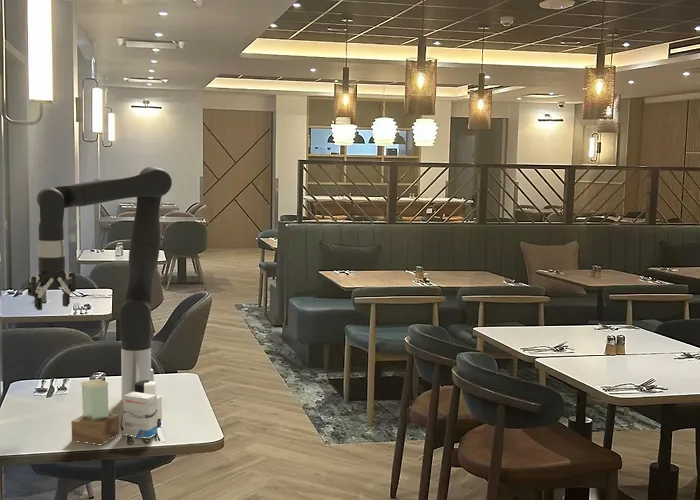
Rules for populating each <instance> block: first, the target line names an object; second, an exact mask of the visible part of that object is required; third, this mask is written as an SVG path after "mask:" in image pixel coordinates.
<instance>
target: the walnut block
mask: <svg viewBox="0 0 700 500" xmlns="http://www.w3.org/2000/svg"><path fill="white" fill-rule="evenodd" d="M119 416H120V415H119V414H116V413H115V414H114V413H109V417H108V418H105V419H101V420H97V421H94V422H92V421H90V420H87V419H85V418H83V414H82V415H81V416H79V417H77V418H74V419H73V420H71V442H73V441H79V442H78V443H80V442H88V443H95V444H102V443H104V442H105V441H107V440H109V439H110V438H112V437H114V436H115V437H117V436H118V435H117V434H119V433H120V431H119V430H120V427H119V423H120V422H119V421H120V419H119ZM116 435H117V436H116ZM119 435H120V434H119ZM115 437H114V438H115ZM112 439H113V438H112ZM110 440H111V439H110ZM110 440H109V441H110ZM107 442H108V441H107ZM105 443H106V442H105ZM105 443H104V444H105ZM102 445H103V444H102Z"/></svg>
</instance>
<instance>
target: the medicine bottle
mask: <svg viewBox="0 0 700 500" xmlns="http://www.w3.org/2000/svg"><path fill="white" fill-rule="evenodd" d="M156 386H157V383H156V382H155V381H154V382H153V381H150V380H142V381H139V382H137V383H135V392H139V393H146V394H153V395H157V393H156V392H157V391H156V390H157V389H156ZM162 400H163V396H162V395H157V420H158V419H160V420H162V419H163V401H162ZM158 421H159V420H158Z"/></svg>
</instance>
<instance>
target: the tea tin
mask: <svg viewBox="0 0 700 500" xmlns="http://www.w3.org/2000/svg"><path fill="white" fill-rule="evenodd" d="M80 383H81V385H80V386H81V391H82V392H81V394H82V395H81V397H82V415H83V418H85V419H87V420H90V421H92V422H94V421H97V420H101V419H105V418H108V417H109V414H110V413H109V387H108V385H109V382H108V381H106V380H103V379H101V378H96V379H91V380H90V379H89V380H87V381H82V382H80Z"/></svg>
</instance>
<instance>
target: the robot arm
mask: <svg viewBox="0 0 700 500" xmlns="http://www.w3.org/2000/svg"><path fill="white" fill-rule="evenodd" d="M172 182H173V180H172V178H171V175H170V174H169V173H168V172H167V171H166V170H164V169H162V168H160V167H158V166H157V167H156V166H147V167H145V168H143V169H142V170H141V171H140V172H139V174H136V175H133V176H130V177H125V178H124V177H122V178H112V179H99V180H91V181H84V182H80V183H75V184H71V185H62V186H60V185H59V186H51V187H45V188H44V189H42V190H40V191H39V193H38V194H37V197H36V203H37V205H38V207H39V220H40V221H39V223H38V246H37V258H38V259H37V260H38V261H37V262H38V265H37V266H38V267H37V269H38V275H29V276H28V278H27V279H28V281H27V295H28V296H30V297H33V299H34V308H35V309H36V310H37V311H42V310H43V297H42V296H43V295H44V294H45V293H46V291H48V290H52V289H60V291H61V292H62V296H61V297H62V298H61V299H62V306H63V307H65V308H66V307H67V308H68V307H69V305H70V303H71V301H70V300H71V293H73V292H76V290H77V284H76V274H75V272H73V271H67V272H65V271H66V247H65V246H66V245H65V239H64V236H65V235H64V233H65V232H64V231H65V230H64V229H65V228H64V217H65V209H67V208H71V207H87V206H94V205H97V204H102V203H103V204H104V203H106V202H112V201H118V200H123V199H132V198H136V207H135V208H136V209H135V215H134V220H133V224H132V229H131V230H132V231H131V237H130V243H129V251H128V252H129V253H128V279H129V280H128V286H127V291H126V294H125V299H124V302H123V305H122V306H121V309H120V312H119V325H120V326H119V330H120V331H119V334H120V335H119V336H120V338H119V339H120V347H121V350H120V353H121V354H120V358H121V359H120V360H121V368H120V369H121V402H123V396H124V395H126V394H128V393H131V392H135V383H137V382H139V381H142V380H150V381H153V382H155V378H154V377H155V371H154V369H153V368H152V339H151V338H152V336H151V314H152V289H153V279H154V276H155V273H156V270H157V265H158V261H159V256H160V251H161V250H160V248H161V240H162V239H161V238H162V237H161V236H162V233H161V223H160V207H161V202H162V197H163V196H165V195H166V194H168V193H169V192H170V191H171V189H172V185H173V183H172ZM65 279H66V280H67V284H66V283H65ZM38 282H39V284H38V285H37V283H38Z"/></svg>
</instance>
